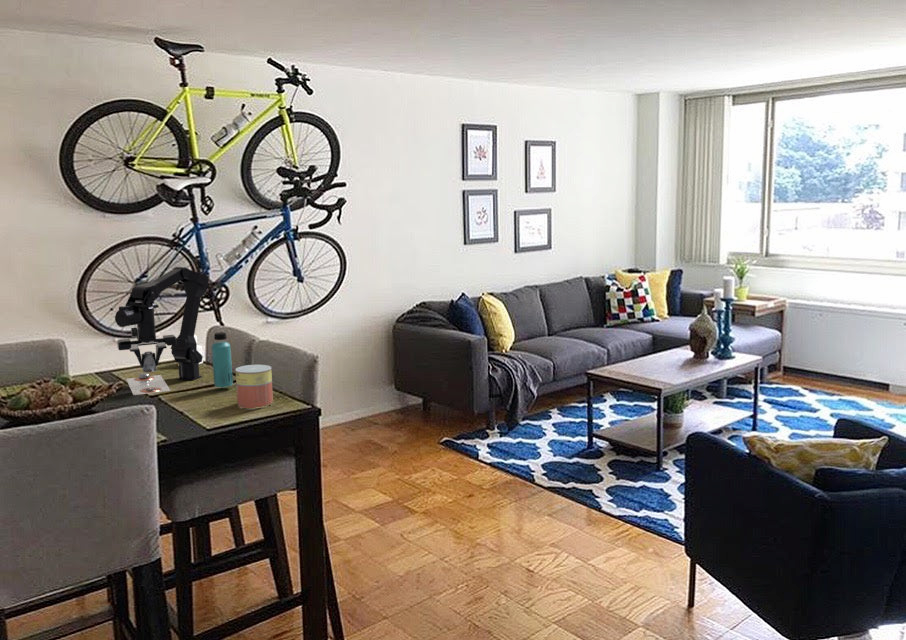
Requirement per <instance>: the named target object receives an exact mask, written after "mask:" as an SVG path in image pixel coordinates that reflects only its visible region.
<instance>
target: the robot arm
mask: <svg viewBox="0 0 906 640" xmlns="http://www.w3.org/2000/svg"><path fill="white" fill-rule="evenodd" d="M179 282H180V283H182V284H183V289H184V292H185V295H186V299H185V303H184V309H183V316H182V320H181V326H180V331H179V334H178V336H175V335H174V334H167V335H166V334H165V335H162V337H161V338H160V337H159V338H157V335H156V322H155V321H156V319H155V309H158V308H159V307H160V306H159V305H158V304H157V303H155V301H156V300H157V299H158V298H159V297H160V295H161V294H162V292H163V291H166V290H167V289H169V288H170V287H172V286H173V285H176V284H177V283H179ZM209 282H210V279H209V278H208V276H207V274H205V273H201V272H199V271H198V272H197V271H195V270H192V269H189V268H188V267H185V266H175V267H173V268H172V269H171V270H170V271H168V272H165V273H164V274H163V275H161V276H159V277H157V278H156V279H154V280H153V281H152V280H151V281H150V282H144V283H140V284H138V285H135V286H133V287H132V288H131V292H130V295H129V296H128V299H127V301H126V303H125V306H123V305H121V306H119V307H118V310H117V311H116V313H115V316H114V321H115V323H116V325H117V326H118V327H120V328H125V327H130V326H135V325H136V327H131V328H130V333H131V338H136V340H131V339H130V338H122V339H118V340H117V342H116V343H117V344H116V345H117V349H118V351H127V350H129V351H130V352H132V353H134V355H135V356H136V359H137V361H138V364H139V366H140V367H141V369H143V364H142V356H141V354H142V353H141V350H140V348H139V347H140V346H141V347H143V346H149V345H150V346H151V345H155V359H156V367H158V366H159V362H160V359H161V356H162V354H163V351H164V349H167V348H168V347H167V346H169V347H170V346H171V347H170V349H171V353H170V354H171V355H172V356H173V359H174V362H175V363H178V362H179V366H178V365H177V366H178V377H177V378H176V379H177V380H180V381H181V380H182V381H195V380H197V379H201V378H202V377H203V374H202V375H201V374H200V364H199V363H200V362H202V358H203V359H204V355H203V356H202V355H201V354H200V353H199V352H198V351H197V346H198V342H197V343H196V340H195V338H194V335H195V332H196V327H197V321H198V316H199V310H200V304H201V300H202V297H203V296H204V295H205V294H206V292H207V290H208V286H209Z"/></svg>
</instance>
